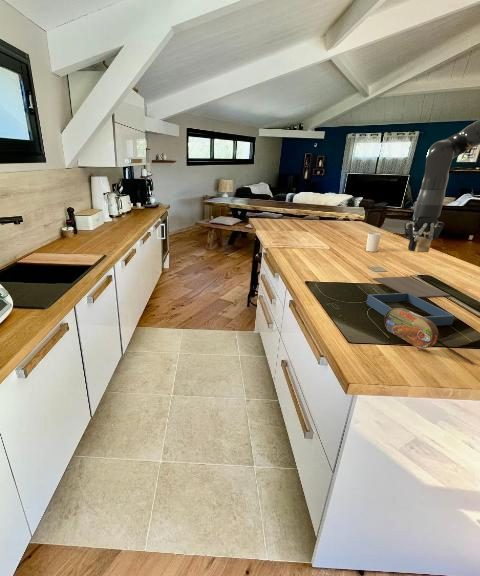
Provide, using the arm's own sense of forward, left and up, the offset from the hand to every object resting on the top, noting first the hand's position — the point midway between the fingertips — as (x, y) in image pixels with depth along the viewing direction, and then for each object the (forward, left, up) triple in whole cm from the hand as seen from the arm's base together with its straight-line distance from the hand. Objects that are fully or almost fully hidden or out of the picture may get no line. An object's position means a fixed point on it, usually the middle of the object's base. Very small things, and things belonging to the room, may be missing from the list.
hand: (418, 250), depth 115 cm
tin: (+26, +33, -18) cm, 45 cm away
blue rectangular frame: (+15, +18, -17) cm, 29 cm away
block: (0, 0, 0) cm, 0 cm away
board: (-3, -4, -17) cm, 18 cm away
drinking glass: (+28, -41, -18) cm, 53 cm away
